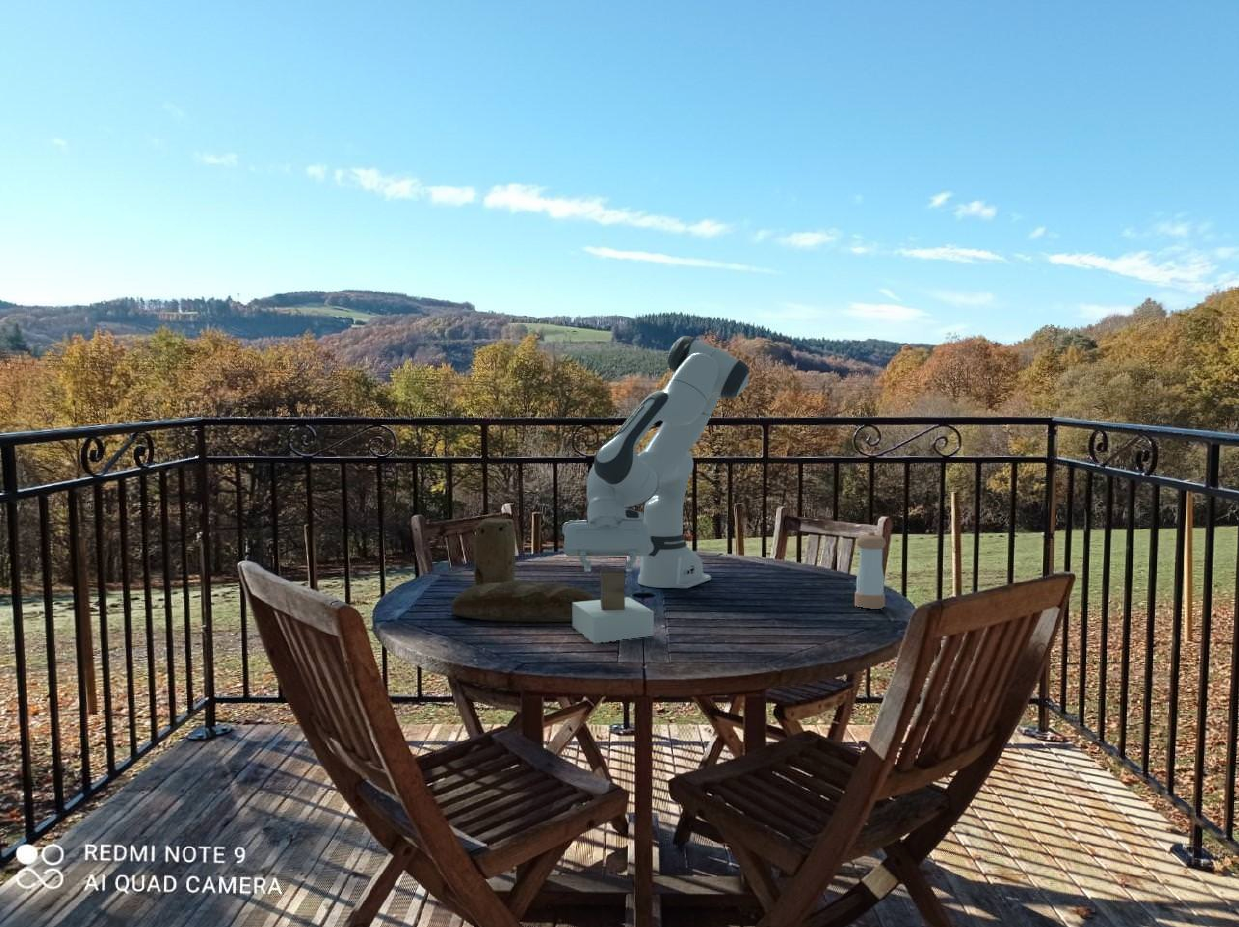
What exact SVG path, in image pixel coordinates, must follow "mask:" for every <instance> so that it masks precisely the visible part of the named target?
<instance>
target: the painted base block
mask: <svg viewBox="0 0 1239 927" xmlns="http://www.w3.org/2000/svg"><path fill="white" fill-rule="evenodd" d="M654 616H655V612H654V610H652V609H650V608H649V607H646V606H645V605H643V604H642V603H640V602H638V601H637V600H634V599H633V598H632V597H627V596H625V610H602V608H601V599H598V600H593V601H583V602H572V628H573V629H574V630H576V631H577V632H578V633H579V634H581V633H582V634H583V635H584V636H583V635H582V634H581V635H582V636H583V637H585V638H586V639H587V638H588V639H589V642H591V643H592V642H593V643H594V644H601V642H603V643H610V642H609V641H612V642H617V641H616V640H620V641H623V640H622V639H629V640H632V639H631V638H637V639H639V638H638V637H645V636H652V635H654V629H655V628H654V627H655V626H654V619H655V618H654ZM588 639H587V640H588ZM593 643H592V644H593Z"/></svg>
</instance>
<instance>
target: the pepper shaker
mask: <svg viewBox="0 0 1239 927" xmlns="http://www.w3.org/2000/svg"><path fill="white" fill-rule="evenodd" d="M886 543H887V542H886V539H885V538H884V537H883V536H882V535H880V534H876V533H875V532H874V531H871V530H870V531H869V532H868V533H865V534H864V533H863V534H861V535H860V536H858V537H857V539H856V545H857V546H858V547H859V564H858V570H857V573H856V574H857V575H856V590H855V592H854V606H855V607H856V606H857V607H863V608H870V609H879V608H883V607H885V606H886V603H885V602H886V594H885V592H884V588H885V586H884V585H885V577H884V571H883V570H884V569H883V549H884V548H885V546H886ZM857 607H856V608H857ZM885 608H886V607H885Z"/></svg>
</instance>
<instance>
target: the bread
mask: <svg viewBox="0 0 1239 927" xmlns="http://www.w3.org/2000/svg"><path fill="white" fill-rule="evenodd" d="M593 600H599V598H598V597H597V596H595V594H593V593H591V592H589V591H587V590H584V589H582V588H579V587H573V586H569V585H568V584H564V583H558V582H553V581H550V582H537V581H531V580H514V581H506V582H503V583H487V584H481V585H476V586H474V585H473V586H471V587H468V588H466V589H465V590H463V591H462V592H460V593H458V595H456V597H454V598H453V600H452V602H451V612H452V614H453V615H455V616H456V617H457V616H458V617H460V618H462V617H463V618H469V619H476V620H481V621H490V622H506V623H507V622H508V623H509V622H511V623H512V622H513V623H570V622H572V602H583V601H593Z"/></svg>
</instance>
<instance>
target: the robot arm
mask: <svg viewBox="0 0 1239 927" xmlns="http://www.w3.org/2000/svg"><path fill="white" fill-rule="evenodd" d="M667 365H668V368H669V369H670V370H671V371H672V372H673V374H672V375H671V377H670V379H669V380H668V382H667V383H666V385H665V386H664V387H663V388H662V389H661V390H660V391H659V390H657V391H656V390H655V391H653V392H651V393H650V394H649V395H647V396H645V398H644V399H643V400H642V401H641V402H640V403H639V404H638V405H637V407H636V408H635V409H634V410H633V412H632V413H631V414H630V415H629V416H628V417H627V419H626V420H625V421H624V422H623V424H622V425H621V426H620V427H619V428H618V430H617V431H616V432H615V433H614V434H613V435H612V436H611V437H610V438H609V439H608V440H607V441H605V442H604V443H603V444H602V445H601V446H600V448H598V450H597V451H596V454H595V456H594V462H593V466H592V467H591V468H590V469H589V472H588V475H587V479H586V499H587V502H588V505H587V511H586V513H587V514H586V515H587V519H586V520H585V519H584V520H583V519H581V520H574V519H573V520H572V519H571V520H568V521H566V522H565V523H563V525H562V528H561V529H562V530H561V531H562V535H563V536H564V542H563V553H564V555H565V556H566V557H569V558H572V557H573V558H575V557H577V558H578V557H579V558H578V559H579V562H580V563H581V564H582V565H583V567H584V568H583V571H584V573H586V572H591V571H592V561H590V560H589V561H588V560H587V558H586V557H589V558H591V557H593V558H594V557H595V558H596V557H597V558H599V557H602V558H603V557H605V558H606V557H616V558H617V557H629V560H628V561H625V572H633V567H634V566H633V565H634V563H635V562H636V561H637V557H641V559H640V567H639V573H638V575H637V583H638V584H639V585H640V586H641V585H642V586H645V587H650V588H660V589H663V588H665V589H668V588H669V589H671V588H673V589H677V588H678V589H688V588H691V587H693V586H697V585H700V584H702V583H705V582H707V581H711V580H712V576H711V575H710V574H708V573H704V566H703V561H702V558H701V557H700V556H699V555H697V554H696V553H694V551H692V550H691V549H690V548H689V547H688V545H687V542H693V538H694V536H693V535H692V534H689V533H686V534H684V533H683V523H684V522H683V519H684V518H683V517H684V515H683V514H684V513H683V511H684V503H685V497H686V492H687V488H688V482H689V479H690V476H691V474H692V472H693V470H694V459H693V457H692V455H691V454H690V453H689V451H690V450H691V449H692V447H693V446H694V445H695V444H696V443H698V442H699V440H700V439H701V436H702V434H703V432H704V430H705V429H706V426H707V424H708V422H709V421H710V419H711V417H712V415H713V413H714V410H715V408H716V405H717V403H718V402H719V398H720V399H721V400H724V399H730V400H731V399H734V398H738V396H739V395H740V394H742V393H743V391H744V390H745V389H746V387H747V385H748V383H749V379H750V367H749V365H747V363H745V362H744V361H743V360H741V359H737V357H736V358H735V356H733V355H732V354H730V353H728V352H727V351H725V350H724V349H721V348H719V347H715V346H713V345H711V344H708V343H706V342H703V341H701V340H698V339H697V338H695V337H693V336H688V335H683V336H682V337H679V338H678V339H677V340H676V341H675V342H674V343H673V345H671V347H670V349H669V351H668V355H667ZM659 421H660V422H662V423H661V424H660V425H659V427H658V429H657V431H656V432H655V433H654V434H653V436H652V437H651V439H650V440H649V441H648V443H647V444H646V445H645V446H644V448H643V449H642V451H640V452H639V453H637V447H638V444H639V443H640V442H641V441H642V439H643V438H644V437H645V436H646V434H647V433H648V432H649V431H650V429H651V428H652V427H653V426H654V425H655V424H656V423H657V422H659ZM642 504H644V507H643V512H641V511H638V510H635V509H630V508H631V507H635V506H638V505H642Z"/></svg>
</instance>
